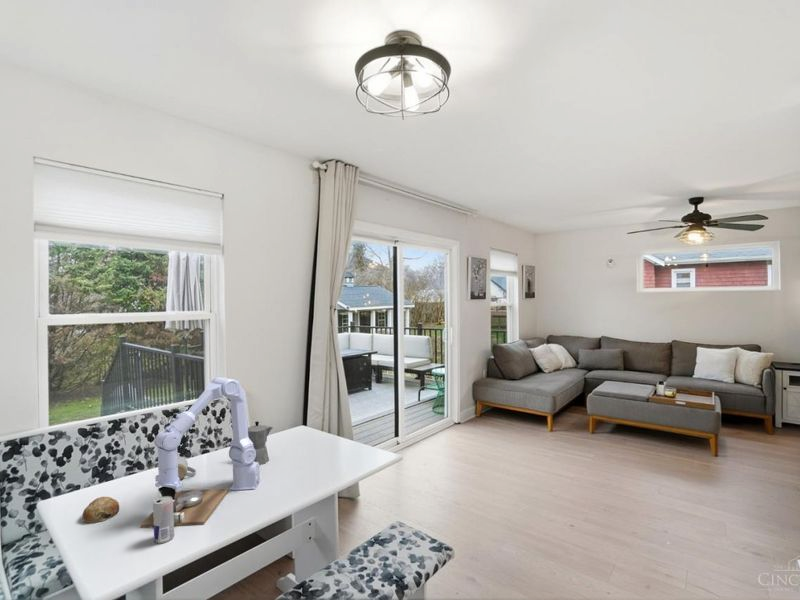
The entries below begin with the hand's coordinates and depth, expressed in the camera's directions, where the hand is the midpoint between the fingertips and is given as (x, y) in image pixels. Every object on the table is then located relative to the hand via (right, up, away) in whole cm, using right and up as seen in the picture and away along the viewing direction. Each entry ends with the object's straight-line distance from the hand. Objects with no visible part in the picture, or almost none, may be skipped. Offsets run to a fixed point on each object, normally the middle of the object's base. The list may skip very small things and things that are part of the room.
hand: (169, 507), depth 140 cm
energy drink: (+5, -4, -12) cm, 14 cm away
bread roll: (-25, -4, +2) cm, 25 cm away
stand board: (+3, -3, +6) cm, 8 cm away
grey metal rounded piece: (+3, -2, +4) cm, 6 cm away
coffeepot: (+13, -3, +45) cm, 47 cm away
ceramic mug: (-13, -4, +31) cm, 34 cm away
